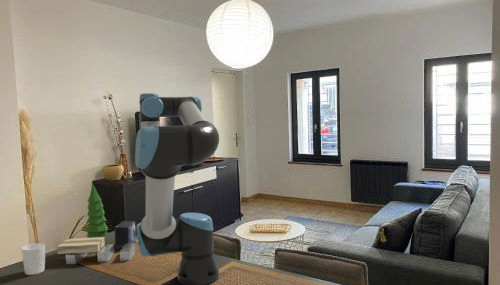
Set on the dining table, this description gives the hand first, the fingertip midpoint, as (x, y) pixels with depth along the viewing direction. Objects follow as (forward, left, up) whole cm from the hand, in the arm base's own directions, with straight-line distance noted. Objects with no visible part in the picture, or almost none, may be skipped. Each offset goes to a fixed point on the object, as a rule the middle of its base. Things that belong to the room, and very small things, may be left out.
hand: (153, 190), depth 153 cm
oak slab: (+8, +32, -25) cm, 41 cm away
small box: (+22, +17, -30) cm, 41 cm away
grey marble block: (+8, +34, -30) cm, 46 cm away
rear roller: (+8, +13, -29) cm, 33 cm away
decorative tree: (+24, +30, -30) cm, 49 cm away
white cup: (-3, +46, -30) cm, 55 cm away
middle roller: (+8, +22, -29) cm, 38 cm away
